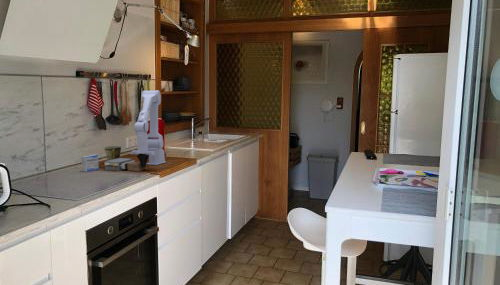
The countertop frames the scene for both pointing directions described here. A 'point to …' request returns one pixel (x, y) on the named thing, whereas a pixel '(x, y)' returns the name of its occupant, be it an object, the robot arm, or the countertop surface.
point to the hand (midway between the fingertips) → (143, 167)
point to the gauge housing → (115, 163)
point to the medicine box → (90, 163)
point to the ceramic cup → (112, 152)
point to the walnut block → (135, 166)
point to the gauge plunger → (123, 165)
